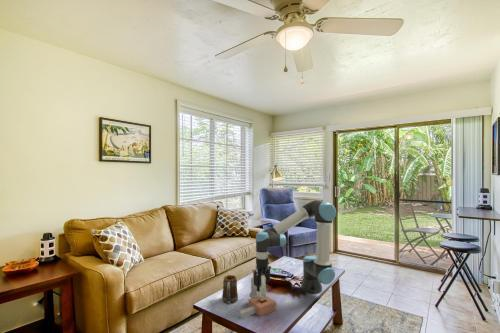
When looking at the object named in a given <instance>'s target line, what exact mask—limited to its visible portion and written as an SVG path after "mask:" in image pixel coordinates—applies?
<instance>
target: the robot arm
mask: <svg viewBox="0 0 500 333" xmlns="http://www.w3.org/2000/svg"><path fill="white" fill-rule="evenodd" d="M299 208H300V209H299V210H297V211H295V212H294V213H292V214H290V215H289V216H288V217H286V218H284V219H283V220H281V221H280V222H278V223H276V224H275V225H273V226H272V227H270V228H264V229H263V230H262V231H258V232H257V233H256V235H255V265H256V266H255V268H254V269H252V270H251V271H252V273H253V274H252V275H253V277H254V285H255V286H257V293H258V296H259V297H261V286H260V283H261V275H262V274H264V275H265V277H266V283H265V295H266V296H267V288H268V285H269V283H270V280H271V278H270V277H271V270H272V266H270V265H268V264H269V258H268V257H269V248H279V247H280V248H281V247H285V246H286V244H287V237H286V235H285V234H284V233H286V232H288V231H289V230H290V229H292V228H294V227H295V226H296V225H299V224H300V223H301V222H304V221H305V220H308V219H310V218H313V217H314V222H315V223H316V254H315V255H307V256H304V257H303V260H302V263H303V264H302V270H303V271H302V273H303V274H302V276H303V277H302V281H301V284H300V289H301V290H302V291H303V292H305V293H308V294H319V293H321V292H322V291H323V285H329V284H332V282H333V281H334V280H335V277H336V272H335V270H334V268H333V267H332V266H333V265H332V261H331V260H330V253H331V252H330V248H331V246H330V245H331V242H330V238H331V224H333V221H334V220H335V218H336V216H337V210H336V207H335V206H334V204H332V203H331V202H328V201H322V200H316V199H315V200H312V201H309V202H308V203H305V204H304V205H302V206H301V207H299Z"/></svg>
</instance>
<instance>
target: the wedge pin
mask: <svg viewBox="0 0 500 333" xmlns="http://www.w3.org/2000/svg"><path fill="white" fill-rule="evenodd" d="M265 283H266V277H265V275H264V274H262V275H261V283H260V286H261V297H259V296H258V299H259V300H260V301H263V300H265Z"/></svg>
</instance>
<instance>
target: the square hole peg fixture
mask: <svg viewBox="0 0 500 333" xmlns="http://www.w3.org/2000/svg"><path fill="white" fill-rule="evenodd" d="M250 281H251V282H250V283H251V284H250V286H251V287H250V290H251V291H250V292H249V297H250V298H249V299H248V307H246V308H243V309H241V310H239V312H238V313H239V314H238V317H239V318H241V319H245V318H247V317H249V316H251V315H254V314H257V315H258V316H259V317H263V316H265V315H267V314H270V313H272V312H274V311H276V310H277V309H276V308H277V306H276V301H275V300H273V299H272V298H270V297H269V296H267V294H266V295H265V300H263V301H260V300H259V299H258V291H257V286H255V285H254V276H253V277H251V278H250Z"/></svg>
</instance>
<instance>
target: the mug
mask: <svg viewBox="0 0 500 333" xmlns="http://www.w3.org/2000/svg"><path fill="white" fill-rule="evenodd" d="M222 284H223V285H222V296H221V300H222V302H223V303H225V304H227V305H231V304H235V303H237V301H238V300H239V299H238V298H239V295H238V282H237V277H236V275H234V274H227V275H225V276H224V277H223V281H222Z"/></svg>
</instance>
